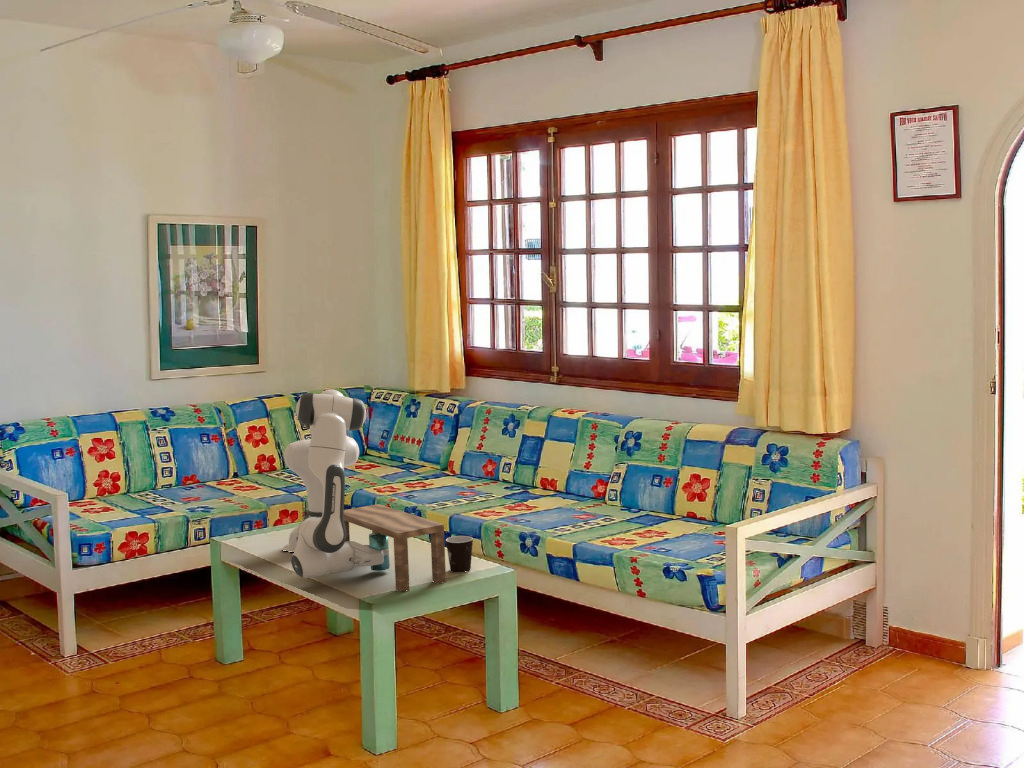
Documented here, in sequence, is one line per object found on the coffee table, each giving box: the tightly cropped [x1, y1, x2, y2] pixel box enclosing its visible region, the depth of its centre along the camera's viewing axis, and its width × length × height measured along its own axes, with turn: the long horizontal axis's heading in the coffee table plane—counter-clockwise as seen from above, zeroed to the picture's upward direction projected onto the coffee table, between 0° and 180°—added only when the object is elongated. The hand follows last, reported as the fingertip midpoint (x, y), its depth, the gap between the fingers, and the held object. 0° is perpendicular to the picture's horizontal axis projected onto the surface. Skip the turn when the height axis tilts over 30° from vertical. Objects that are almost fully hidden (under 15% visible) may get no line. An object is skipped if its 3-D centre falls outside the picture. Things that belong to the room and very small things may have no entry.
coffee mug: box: [445, 535, 474, 573], centre depth 339 cm, size 12×9×10 cm
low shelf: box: [344, 503, 447, 593], centre depth 339 cm, size 16×40×18 cm, turn 36°
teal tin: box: [368, 532, 391, 572], centre depth 341 cm, size 6×6×11 cm
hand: (381, 549), depth 341 cm, fingers closed on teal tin, 6 cm apart
